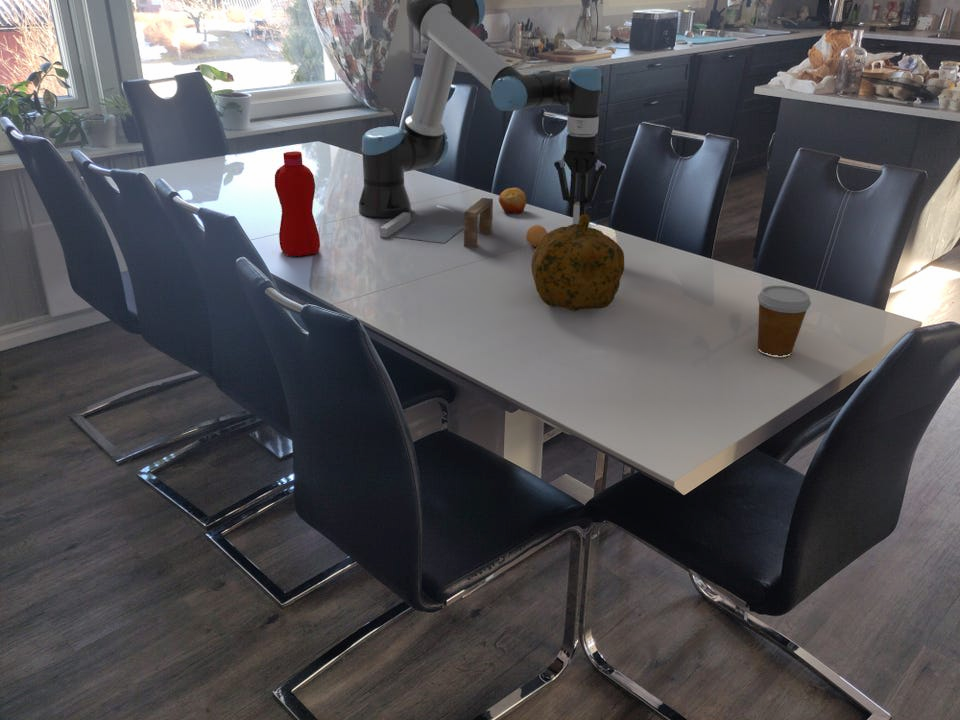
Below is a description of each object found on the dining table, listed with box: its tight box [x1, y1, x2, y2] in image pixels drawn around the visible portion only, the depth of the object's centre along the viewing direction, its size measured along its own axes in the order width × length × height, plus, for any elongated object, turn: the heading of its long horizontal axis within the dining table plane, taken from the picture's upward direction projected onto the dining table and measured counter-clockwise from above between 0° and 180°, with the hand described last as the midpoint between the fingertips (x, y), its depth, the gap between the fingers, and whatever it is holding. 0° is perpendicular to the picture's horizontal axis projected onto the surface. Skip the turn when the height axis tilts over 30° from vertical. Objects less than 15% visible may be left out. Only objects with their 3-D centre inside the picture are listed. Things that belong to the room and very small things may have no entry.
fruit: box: [498, 187, 527, 214], centre depth 244 cm, size 8×8×8 cm
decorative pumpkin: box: [530, 214, 625, 312], centre depth 178 cm, size 20×21×20 cm
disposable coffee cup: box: [757, 285, 812, 356], centre depth 158 cm, size 10×10×12 cm
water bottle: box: [274, 150, 321, 257], centre depth 204 cm, size 9×11×25 cm
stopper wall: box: [379, 212, 411, 238], centre depth 227 cm, size 2×16×2 cm, turn 161°
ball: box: [525, 224, 548, 247], centre depth 216 cm, size 6×6×6 cm
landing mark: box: [395, 222, 464, 244], centre depth 225 cm, size 14×14×1 cm
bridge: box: [463, 197, 494, 248], centre depth 219 cm, size 3×14×9 cm, turn 161°
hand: (576, 228), depth 211 cm, fingers closed
